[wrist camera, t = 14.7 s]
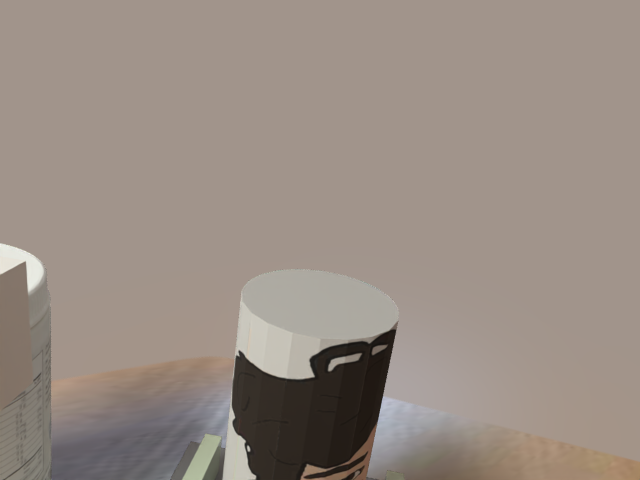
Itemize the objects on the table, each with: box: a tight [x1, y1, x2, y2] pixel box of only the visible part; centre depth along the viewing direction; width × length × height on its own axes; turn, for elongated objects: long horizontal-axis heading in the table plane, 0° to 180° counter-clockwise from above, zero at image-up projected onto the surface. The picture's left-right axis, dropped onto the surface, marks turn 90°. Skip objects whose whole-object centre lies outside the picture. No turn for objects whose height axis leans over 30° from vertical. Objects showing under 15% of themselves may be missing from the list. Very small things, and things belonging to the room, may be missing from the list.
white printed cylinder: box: [222, 269, 399, 480], centre depth 26 cm, size 7×7×15 cm
